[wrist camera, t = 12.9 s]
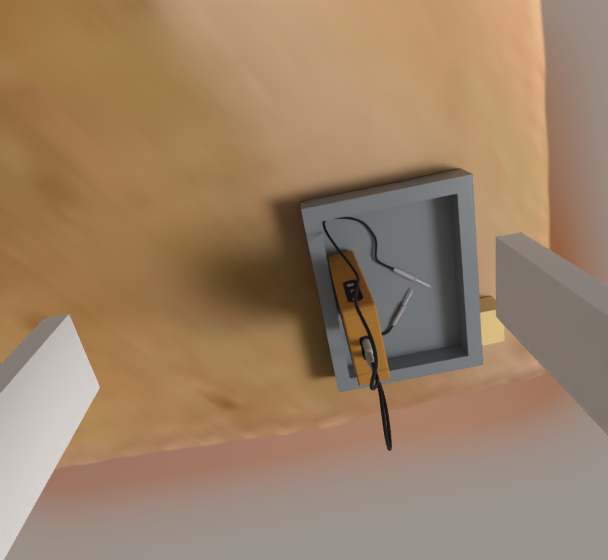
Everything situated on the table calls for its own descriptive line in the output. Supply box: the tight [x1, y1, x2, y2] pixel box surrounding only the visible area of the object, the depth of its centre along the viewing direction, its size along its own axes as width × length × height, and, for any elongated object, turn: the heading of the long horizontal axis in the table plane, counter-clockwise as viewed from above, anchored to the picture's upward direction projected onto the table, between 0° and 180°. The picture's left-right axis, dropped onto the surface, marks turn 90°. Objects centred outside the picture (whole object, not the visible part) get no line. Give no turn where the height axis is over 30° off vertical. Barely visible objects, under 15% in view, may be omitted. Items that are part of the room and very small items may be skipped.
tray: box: [300, 169, 504, 392], centre depth 48 cm, size 18×21×3 cm
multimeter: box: [322, 217, 431, 451], centre depth 39 cm, size 15×10×20 cm
